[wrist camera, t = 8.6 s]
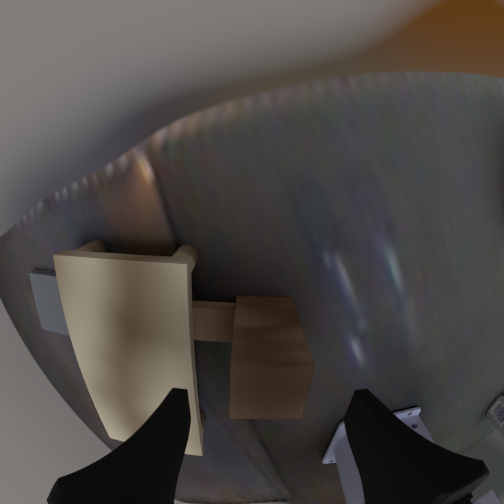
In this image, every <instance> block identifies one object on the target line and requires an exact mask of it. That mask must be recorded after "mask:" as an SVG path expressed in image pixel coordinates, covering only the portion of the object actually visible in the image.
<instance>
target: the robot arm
mask: <svg viewBox="0 0 504 504" xmlns="http://www.w3.org/2000/svg"><path fill="white" fill-rule="evenodd" d="M420 411H421V409H420V407H415V408H411V409H407V410H403V411H398V412H394V413H392V412H391V411H390V410H389V409H388V408H387V407H386V406H385V405H384V404H383V403H382V402H381V401H379V400H378V399H377V398H376V397H375V396H374V395H373V394H372V393H371V392H370V391H369V390H368V389H361V390H355V392H354V394H353V397H352V399H351V402H350V404H349V407H348V409H347V412H346V414H345V417H344V421H343V422H341V423H340V424H339V425H338V428H337V430H336V432H335V434H334V437H333V439H332V441H331V443H330V445H329V447H328V449H327V451H326V453H325V455H324V457H323V459H322V463H324V464H327V463H335V462H336V464H337V468H338V472H339V476H340V479H341V483H342V487H343V491H344V495H345V499H346V503H347V504H500V503H499V501H498V499H497V497H496V495H495V494H494V492H493V490H490V491H488V492H487V493H486V494H484V495H483V496H481V497H480V498H478V499H477V500H476V501H474V502H473V503H471V501H470V499H472V498H473V496H472V494H471V492H472V491H473V490H474V489H475V488H476V487H478V486H479V485H480V484H481V483H482V482H483V481H484V480H485V479H486V478H487V477H488V476H489V473H490V472H489V470H488V468H487V467H486V465H485V464H484V462H483V461H482V460H478V459H474V458H469V457H466V456H463V455H460V454H457V453H454V452H452V451H449V450H447V449H445V448H443V447H440V446H438V445H436V444H435V443H434V441H433V439H432V438H431V436H430V434H429V432H428V431H427V429H426V427H425V426H424V424H423V422H422V420H421V419H420V417H419V415H418V414H419V413H420ZM190 425H191V413H190V405H189V397H188V389H181V388H174V387H173V388H172V389H171V390H170V392H169V393H168V394H167V396H166V397H165V399H164V400H163V401H162V402H161V404H160V405H159V406H158V408H157V409H156V410H155V411H154V412H153V414H152V415H151V416H150V417H149V418H148V419H147V420H146V422H145V423H144V424H143V425H142V426H141V427H140V428H139V429H138V430H137V431H136V432H135V433H134V434H133V435H132V436H130V437H129V438H128V439H127V440H126V441H125V442H123V443H122V444H121V445H120V446H118V447H117V448H116V449H114V450H113V451H112V452H110V453H109V454H107V455H106V456H104V457H103V458H101V459H100V460H98V461H96V462H94V463H92V464H90V465H89V466H87V467H85V468H83V469H81V470H78V471H76V472H74V473H71V474H68V475H66V476H63V477H60V478H58V479H57V481H56V483H55V484H54V486H53V488H52V490H51V492H50V494H49V496H48V499H47V502H48V504H174V498H175V491H176V484H177V479H178V475H179V472H180V468H181V464H182V461H183V457H184V453H185V450H186V446H187V442H188V439H189V432H190Z"/></svg>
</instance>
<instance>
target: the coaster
mask: <svg viewBox="0 0 504 504" xmlns="http://www.w3.org/2000/svg"><path fill="white" fill-rule="evenodd" d="M29 275H30V280H31V285H32V290H33V294H34V299H35V303H36V307H37V311H38V315H39V318H40V322H41V325H42V329H45V330H49V331H52V332H56V333H60V334H63V335H67V336H70V334H69V331H68V327H67V323H66V319H65V315H64V311H63V307H62V302H61V298H60V293H59V288H58V283H57V277H56V272H55V271H47V270H40V269H35V270H33V271H31V272H29Z"/></svg>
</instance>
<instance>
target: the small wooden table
mask: <svg viewBox="0 0 504 504" xmlns="http://www.w3.org/2000/svg"><path fill="white" fill-rule="evenodd" d="M53 258H54V264H55V271H56V277H57V283H58V288H59V293H60V298H61V302H62V307H63V311H64V315H65V319H66V323H67V327H68V331H69V334H70V338H71V341H72V345H73V348H74V351H75V354H76V357H77V360H78V363H79V366H80V369H81V372H82V375H83V377H84V380H85V383H86V385H87V388H88V390H89V393H90V395H91V398H92V400H93V402H94V405H95V407H96V409H97V412H98V414H99V416H100V418H101V420H102V422H103V424H104V426H105V429H106V431H107V433H108V434H109V436H110V438H113V439H116V440H120V441H124V442H125V441H126V440H127V439H128V438H129V437H130V436H132V435H133V434H134V433H135V432H136V431H137V430H138V429H139V428H140V427H141V426H142V425H143V424H144V423H145V422H146V420H147V419H148V418H149V417H150V416H151V415H152V414H153V412H154V411H155V410H156V409H157V408H158V406H159V405H160V404H161V402H162V401H163V400H164V399H165V397H166V396H167V394H168V393H169V392H170V390H171V389H172V388H173V387H174V388H181V389H188V397H189V405H190V413H191V425H190V432H189V439H188V442H187V446H186V450H185V453H184V454H190V455H198V456H203V449H204V444H203V432H204V425H205V418H206V415H205V413H204V412H202V411H200V410H199V401H198V390H197V379H196V366H195V351H194V335H193V314H192V283H191V273H192V271H193V269H194V267H195V265H196V264H197V262H198V260H199V252H198V250H197V248H196V247H195V246H193V245H191V244H184V245H182V246H181V247H180V248H179V249H178V250H177V251H176V252H175V253H174V254H173V255H172V256H171V257H167V256H150V255H133V254H117V253H106V247H105V245H104V243H103V242H101V241H100V240H94V241H92V242H90V243H88V244H86V245H84V246H82V247H80V248H78V249H76V250H74V251H70V250H62V251H60V252H58V253H56V254H54V255H53Z"/></svg>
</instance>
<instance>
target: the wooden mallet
mask: <svg viewBox="0 0 504 504" xmlns="http://www.w3.org/2000/svg"><path fill="white" fill-rule="evenodd" d="M235 305H236V308H235ZM192 314H193V335H194V340H202V341H215V342H231V343H232V352H231V364H230V418H236V419H298V418H302V415H303V411H304V407H305V404H306V400H307V396H308V392H309V389H310V385H311V381H312V376H313V372H314V368H315V366H314V363H313V360H312V357H311V354H310V351H309V347H308V344H307V341H306V338H305V335H304V332H303V329H302V326H301V323H300V320H299V317H298V314H297V311H296V308H295V305H294V302H293V299H292V297H265V296H242V295H237V297H236V303H227V302H210V301H196V300H192Z"/></svg>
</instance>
